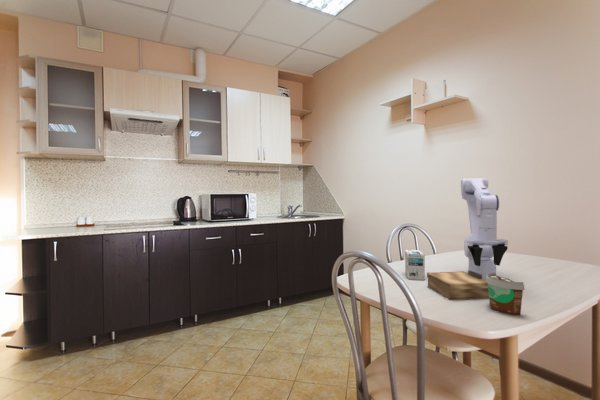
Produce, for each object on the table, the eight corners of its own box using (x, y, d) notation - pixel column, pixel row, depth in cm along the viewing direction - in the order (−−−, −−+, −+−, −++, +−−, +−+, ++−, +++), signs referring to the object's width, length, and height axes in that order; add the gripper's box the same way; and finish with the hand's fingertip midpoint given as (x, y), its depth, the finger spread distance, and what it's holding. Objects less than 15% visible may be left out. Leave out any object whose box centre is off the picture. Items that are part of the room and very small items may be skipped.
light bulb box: (425, 280, 127) (425, 254, 127) (408, 279, 128) (408, 253, 128) (420, 273, 137) (420, 249, 137) (404, 273, 139) (404, 249, 139)
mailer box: (464, 285, 119) (464, 274, 119) (490, 297, 105) (490, 284, 105) (427, 287, 118) (427, 275, 118) (449, 299, 104) (449, 286, 104)
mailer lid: (463, 275, 120) (463, 267, 120) (492, 287, 105) (492, 278, 105) (426, 277, 118) (427, 268, 118) (450, 289, 103) (450, 279, 103)
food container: (476, 302, 101) (476, 272, 101) (494, 302, 101) (494, 271, 101) (504, 318, 88) (504, 283, 88) (524, 317, 89) (524, 282, 89)
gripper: (475, 229, 108) (475, 268, 108) (514, 228, 109) (514, 267, 109) (463, 227, 115) (463, 263, 115) (499, 226, 116) (499, 262, 116)
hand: (487, 265), depth 112 cm, fingers open, 7 cm apart
